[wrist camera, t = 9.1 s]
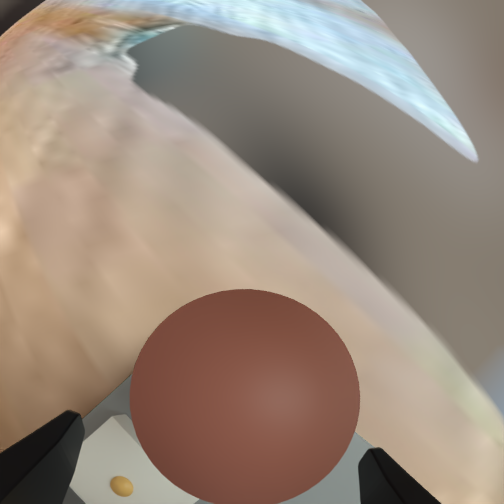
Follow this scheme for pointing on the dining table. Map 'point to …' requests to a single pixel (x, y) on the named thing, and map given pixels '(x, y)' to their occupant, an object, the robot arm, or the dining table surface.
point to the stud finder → (119, 470)
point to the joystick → (244, 398)
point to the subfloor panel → (314, 500)
